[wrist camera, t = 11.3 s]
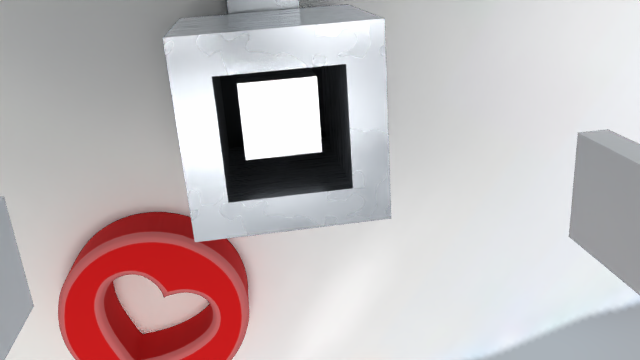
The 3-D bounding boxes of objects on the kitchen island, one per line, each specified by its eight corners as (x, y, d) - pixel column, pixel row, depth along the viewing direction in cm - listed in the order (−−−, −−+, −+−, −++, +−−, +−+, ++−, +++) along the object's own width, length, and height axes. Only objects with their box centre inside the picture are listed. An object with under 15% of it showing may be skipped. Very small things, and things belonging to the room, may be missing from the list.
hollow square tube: (202, 178, 29) (194, 242, 22) (179, 18, 26) (162, 38, 20) (356, 161, 30) (390, 218, 23) (347, 4, 27) (384, 18, 21)
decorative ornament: (79, 365, 35) (65, 402, 32) (63, 211, 32) (46, 236, 29) (247, 358, 37) (248, 393, 34) (248, 209, 33) (250, 234, 30)
